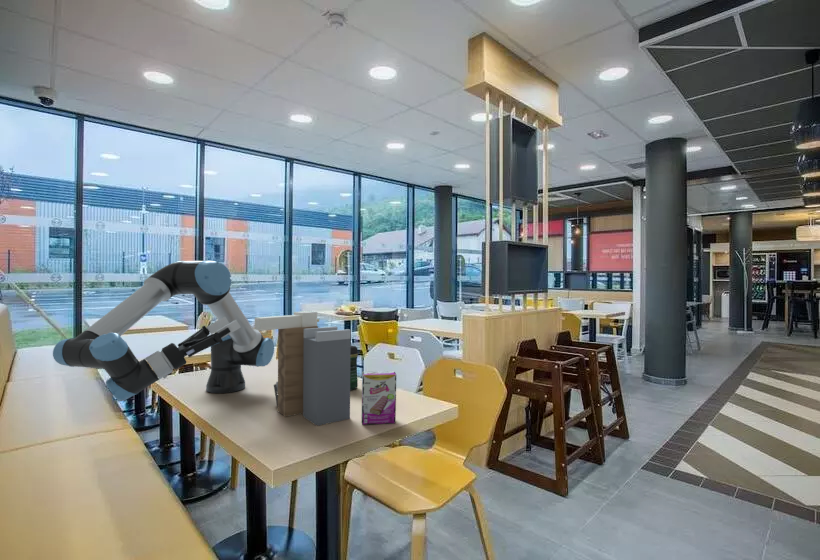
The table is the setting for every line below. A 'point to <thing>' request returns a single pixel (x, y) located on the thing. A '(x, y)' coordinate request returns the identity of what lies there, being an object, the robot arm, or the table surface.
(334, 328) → the socket block
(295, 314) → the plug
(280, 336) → the tall wooden block stack
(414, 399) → the table surface
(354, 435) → the table surface
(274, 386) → the electrical switch
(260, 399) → the table surface
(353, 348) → the coffee jar
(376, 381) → the candy bar box
